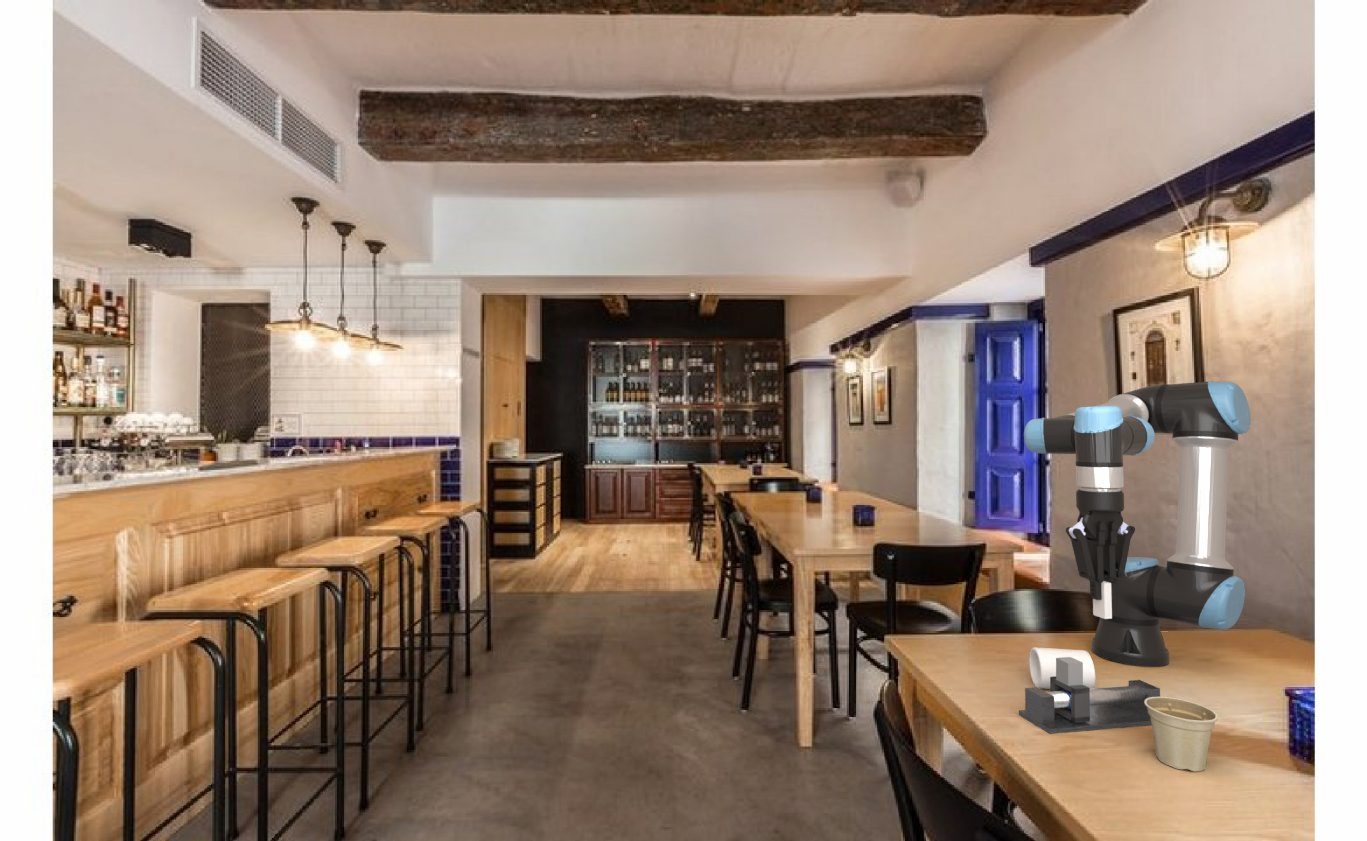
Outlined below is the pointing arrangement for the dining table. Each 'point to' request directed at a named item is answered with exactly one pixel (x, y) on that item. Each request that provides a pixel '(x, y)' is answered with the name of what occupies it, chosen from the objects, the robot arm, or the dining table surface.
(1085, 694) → the collar
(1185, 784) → the dining table surface
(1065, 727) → the pipe rig
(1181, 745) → the flower pot
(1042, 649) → the mug
